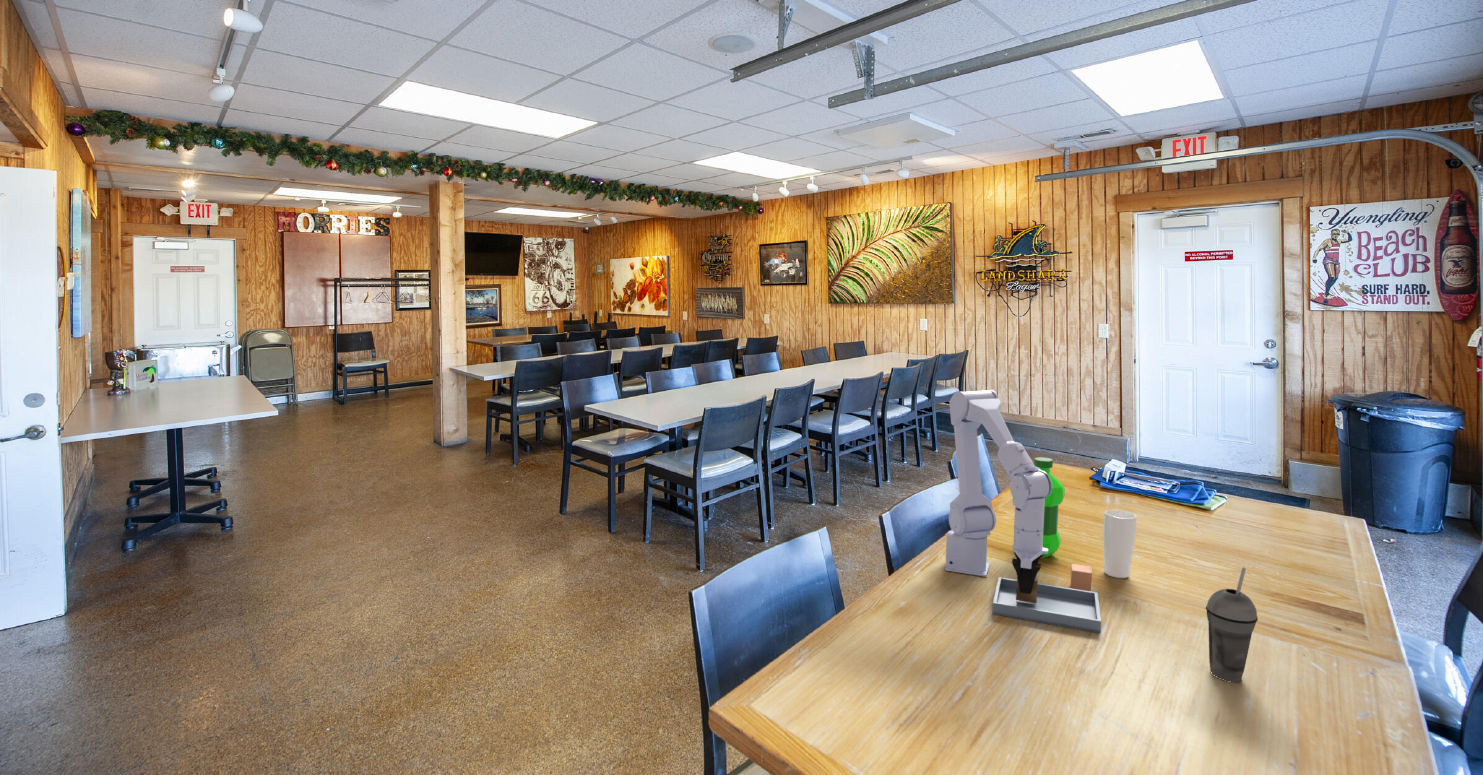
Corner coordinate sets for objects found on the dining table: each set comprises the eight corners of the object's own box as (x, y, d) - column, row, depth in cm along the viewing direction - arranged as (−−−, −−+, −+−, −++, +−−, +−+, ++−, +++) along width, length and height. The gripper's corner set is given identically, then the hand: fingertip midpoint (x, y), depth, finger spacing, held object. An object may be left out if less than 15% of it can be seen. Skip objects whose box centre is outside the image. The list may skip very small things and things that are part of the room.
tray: (992, 613, 139) (993, 602, 139) (998, 587, 152) (998, 577, 152) (1100, 633, 131) (1101, 621, 131) (1096, 603, 143) (1097, 592, 143)
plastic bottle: (1063, 550, 173) (1068, 457, 170) (1057, 564, 164) (1062, 466, 161) (1022, 543, 178) (1026, 452, 175) (1014, 556, 170) (1018, 461, 166)
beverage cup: (1200, 659, 121) (1209, 554, 118) (1250, 671, 117) (1260, 563, 114) (1200, 678, 115) (1209, 569, 112) (1253, 692, 111) (1264, 578, 108)
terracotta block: (1070, 591, 150) (1071, 570, 149) (1070, 584, 153) (1071, 563, 152) (1090, 594, 148) (1091, 573, 147) (1089, 587, 151) (1091, 566, 151)
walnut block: (1016, 599, 142) (1017, 577, 141) (1017, 592, 145) (1018, 570, 145) (1036, 603, 140) (1037, 581, 139) (1036, 595, 144) (1038, 573, 143)
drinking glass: (1137, 581, 154) (1141, 519, 152) (1105, 579, 155) (1109, 518, 153) (1126, 569, 160) (1130, 510, 158) (1096, 568, 162) (1100, 508, 160)
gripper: (1048, 541, 133) (1045, 605, 134) (1049, 519, 145) (1046, 578, 147) (1011, 536, 136) (1008, 599, 137) (1015, 515, 148) (1012, 572, 150)
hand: (1025, 588), depth 143 cm, fingers open, 4 cm apart
